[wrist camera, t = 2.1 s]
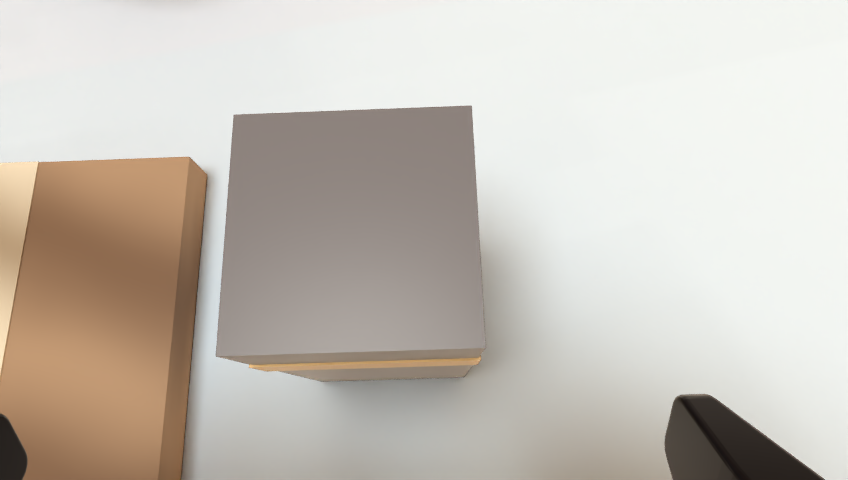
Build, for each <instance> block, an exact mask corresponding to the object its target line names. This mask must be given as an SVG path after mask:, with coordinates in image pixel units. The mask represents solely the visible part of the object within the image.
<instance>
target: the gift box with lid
mask: <svg viewBox="0 0 848 480" xmlns="http://www.w3.org/2000/svg"><path fill="white" fill-rule="evenodd" d="M485 348H486V343H485V326H484V309H483V292H482V274H481V257H480V240H479V223H478V206H477V189H476V171H475V154H474V137H473V120H472V106H449V107H423V108H397V109H371V110H345V111H319V112H293V113H267V114H241V115H234V118H233V132H232V145H231V159H230V172H229V185H228V199H227V212H226V226H225V239H224V252H223V266H222V279H221V293H220V306H219V319H218V333H217V346H216V357H220V358H225V359H229V360H233V361H237V362H242V363H246V364H249V368H253V369H258V370H262V371H280V372H284V373H288V374H292V375H296V376H301V377H305V378H309V379H313V380H318V381H322V382H325V381H358V380H391V379H424V378H457V377H464V376H465V375H466V374H467V372H468V371H469V370H470V368H471V367H472V366H473V365H478V363H479V362H480V361H481V354H482V352H483V351H484V350H485Z"/></svg>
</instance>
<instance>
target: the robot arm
mask: <svg viewBox="0 0 848 480" xmlns="http://www.w3.org/2000/svg"><path fill="white" fill-rule="evenodd" d="M665 452H666V457H667V461H668V464H669V467H670V471H671V474H672V478H673V480H825V479H824V478H822V477H821V476H819V475H818V474H817V473H815V472H814V471H813V470H811V469H810V468H809V467H807V466H806V465H805V464H803V463H802V462H801V461H799V460H798V459H796V458H795V457H794V456H792V455H791V454H790V453H788V452H787V451H786V450H784V449H783V448H782V447H780V446H779V445H778V444H776V443H775V442H774V441H772V440H771V439H769V438H768V437H767V436H765V435H764V434H763V433H761V432H760V431H759V430H757V429H756V428H755V427H753V426H752V425H751V424H749V423H748V422H747V421H745V420H744V419H742V418H741V417H740V416H738V415H737V414H736V413H734V412H733V411H732V410H730V409H729V408H728V407H726V406H725V405H724V404H722V403H721V402H720V401H718V400H717V399H715V398H714V397H712V396H710V395H707V394H688V395H679V396H677V397H676V399H675V400H674V402H673V406H672V410H671V414H670V419H669V423H668V427H667V431H666V436H665ZM27 464H28V458H27V453H26V451H25V449H24V447H23V445H22V443H21V441H20V439H19V438H18V436H17V434H16V432H15V430H14V428H13V426H12V424H11V423H10V421H9V419H8V418H7V417H6V416H5V415H3V414H1V413H0V480H23V477H24V475H25V473H26V469H27Z"/></svg>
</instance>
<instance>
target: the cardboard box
mask: <svg viewBox="0 0 848 480" xmlns="http://www.w3.org/2000/svg"><path fill="white" fill-rule="evenodd" d="M206 181H207V174H206V173H205V172H204V171H203V170H202V169H201V168H200V167H199V166H198V165H197V164H196V163H195V162H194V161H193V160H192V159H191V158H190V157H169V158H142V159H115V160H88V161H61V162H15V163H0V413H1V414H3V415H5V416H6V417H7V418H8V419H9V421H10V423H11V424H12V426H13V428H14V430H15V432H16V434H17V436H18V438H19V439H20V441H21V443H22V445H23V447H24V449H25V451H26V453H27V458H28V464H27V469H26V473H25V475H24V477H23V480H181V470H182V459H183V447H184V435H185V424H186V412H187V401H188V389H189V378H190V366H191V355H192V343H193V331H194V320H195V308H196V297H197V285H198V274H199V262H200V251H201V239H202V228H203V216H204V204H205V193H206Z"/></svg>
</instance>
